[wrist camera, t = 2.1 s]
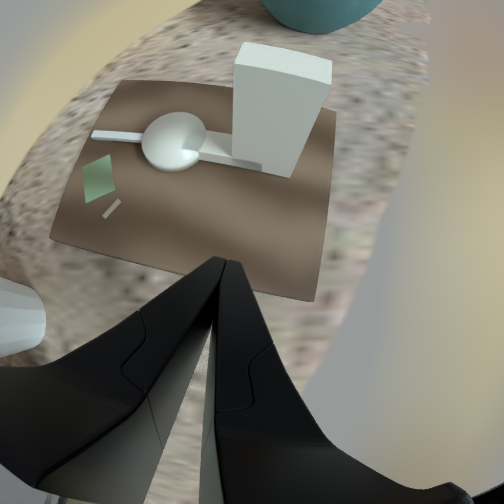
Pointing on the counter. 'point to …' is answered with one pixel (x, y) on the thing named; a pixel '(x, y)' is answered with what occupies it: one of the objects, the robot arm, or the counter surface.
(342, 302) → the counter surface
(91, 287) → the counter surface
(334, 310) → the counter surface
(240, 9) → the counter surface
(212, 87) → the dial board
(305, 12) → the teal bowl
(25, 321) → the white cup
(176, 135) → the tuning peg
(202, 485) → the robot arm
